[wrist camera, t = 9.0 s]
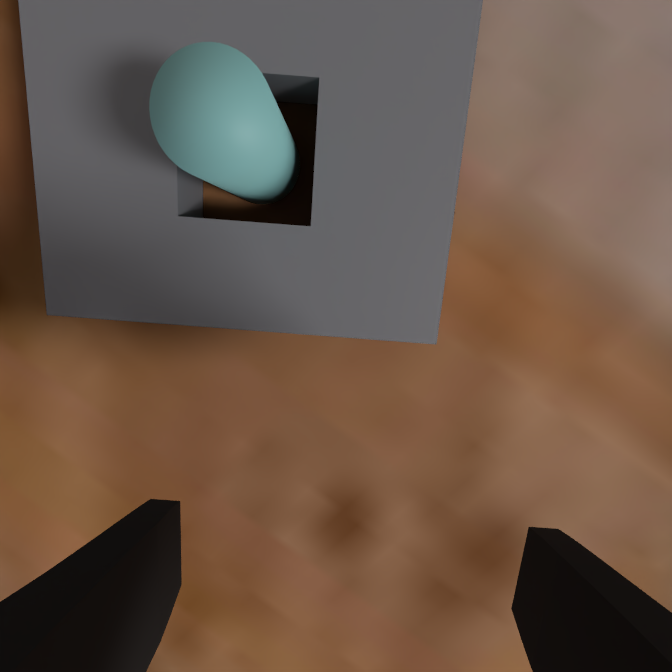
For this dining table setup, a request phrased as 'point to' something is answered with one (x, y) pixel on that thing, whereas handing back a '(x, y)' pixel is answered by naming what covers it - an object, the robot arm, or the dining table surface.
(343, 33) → the peg block
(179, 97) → the peg
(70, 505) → the dining table surface
